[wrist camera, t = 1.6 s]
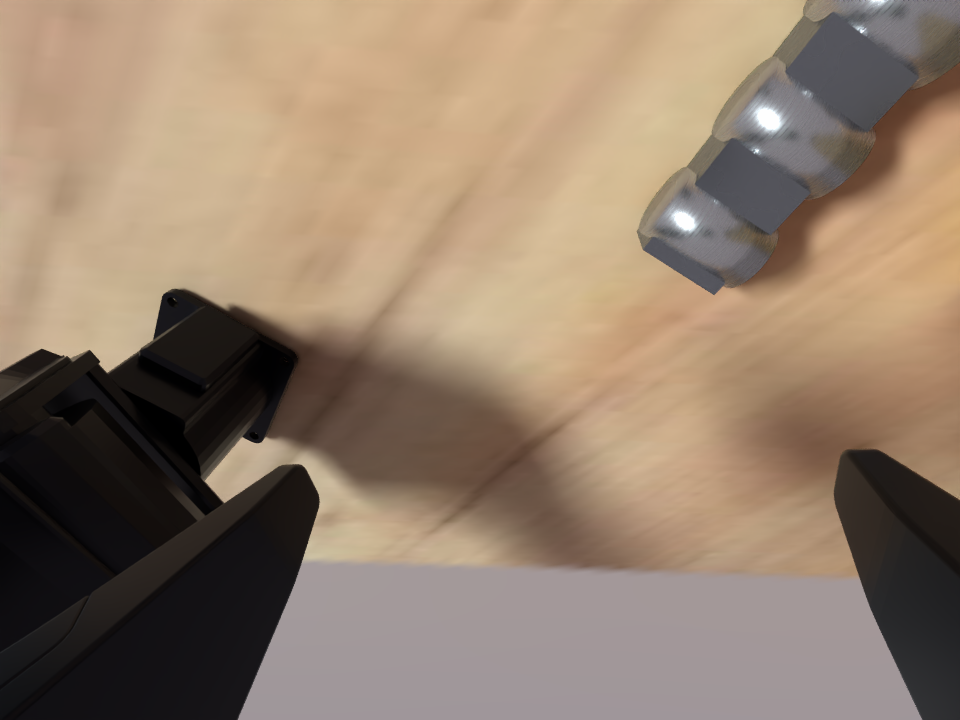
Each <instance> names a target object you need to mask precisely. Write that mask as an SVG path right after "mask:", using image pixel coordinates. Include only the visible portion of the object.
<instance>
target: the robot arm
mask: <svg viewBox="0 0 960 720" xmlns="http://www.w3.org/2000/svg"><path fill="white" fill-rule="evenodd" d="M173 298H174V299H175V300H176V301H177V302H178V303H177V302H175V300H174V299H173ZM284 358H286V359H287V360H288V361H289V362H286V361H285V360H284ZM98 363H100V361H99V359H98V358H97V357H96V356H95V355H94V354H93V353H92V352H91V351H90V350H88V351H86V352H84V353H81V354H79V355H77V356H75V357H73V358H69V357H68V356H66V357H65V356H64V355H63V356H60V355H57V354H54V353H52V352H49V351H46V350H44V349H40V350H38V351H36V352H34V353H32V354H30V355H28V356H26V357H25V358H23V359H21V360H19V361H18V362H16V363H14V364H12V365H10V366H9V367H7V368H5V369H3V370H2V371H0V720H238V718H239V715H240V713H241V710H242V708H243V706H244V703H245V701H246V699H247V696H248V694H249V691H250V689H251V687H252V684H253V682H254V679H255V677H256V675H257V672H258V670H259V668H260V665H261V663H262V661H263V658H264V656H265V653H266V651H267V649H268V646H269V644H270V642H271V639H272V637H273V634H274V632H275V630H276V627H277V625H278V623H279V620H280V618H281V615H282V613H283V610H284V608H285V606H286V603H287V601H288V598H289V596H290V594H291V591H292V589H293V586H294V584H295V581H296V578H297V575H298V572H299V569H300V566H301V563H302V560H303V557H304V554H305V550H306V547H307V544H308V541H309V538H310V534H311V531H312V528H313V525H314V522H315V518H316V515H317V512H318V509H319V503H320V501H319V494H318V492H317V490H316V488H315V486H314V484H313V482H312V480H311V478H310V476H309V474H308V472H307V470H306V469H305V467H303V466H302V465H299V464H292V465H281V466H279V467H277V468H276V469H275V470H273V471H272V472H270V473H269V474H267V475H266V476H264V477H263V478H261V479H260V480H258V481H257V482H255V483H254V484H252V485H251V486H249V487H248V488H246V489H245V490H243V491H242V492H240V493H239V494H237V495H236V496H234V497H233V498H231V499H230V500H229V501H227V502H226V503H224V502H223V501H222V500H221V499H220V498H219V497H218V496H217V494H216V493H215V492H214V491H213V490H212V489H211V488H210V487H209V486H208V484H207V483H206V482H205V480H206V479H207V477H208V476H209V475H210V474H211V473H212V471H213V470H214V469H215V468H216V467H217V466H218V464H219V463H220V462H221V461H222V460H223V459H224V457H225V456H226V455H227V454H228V453H229V452H230V450H231V449H232V448H233V447H234V446H235V445H236V443H237V442H238V441H239V440H240V439H241V438H242V437H243V438H245V439H247V440H249V441H251V442H254V443H261V442H262V441H263V440H264V438H265V437H266V436H267V434H268V431H269V429H270V427H271V424H272V422H273V420H274V417H275V415H276V413H277V410H278V408H279V406H280V403H281V401H282V399H283V396H284V394H285V392H286V389H287V387H288V385H289V382H290V380H291V378H292V375H293V373H294V370H295V368H296V366H297V363H298V358H297V355H296V354H295V353H294V352H293V351H291V350H290V349H288V348H286V347H284V346H282V345H280V344H279V343H277V342H275V341H273V340H271V339H269V338H267V337H266V336H264V335H262V334H260V333H258V332H256V331H255V330H253V329H251V328H249V327H247V326H245V325H243V324H242V323H240V322H238V321H236V320H234V319H232V318H230V317H229V316H227V315H225V314H223V313H221V312H219V311H218V310H216V309H214V308H212V307H210V306H208V305H206V304H205V303H203V302H201V301H199V300H197V299H195V298H193V297H192V296H190V295H188V294H186V293H184V292H182V291H181V290H178V289H171V290H170V291H168V292H166V293H165V294H163V296H162V300H161V305H160V310H159V315H158V319H157V324H156V329H155V334H154V339H153V341H151V342H150V343H148V344H147V345H145V346H144V347H143V348H141V350H140V351H138V352H137V353H135V354H134V355H132V356H131V357H130V358H128V359H127V360H125V361H124V362H122V363H121V364H120V365H118V366H117V367H115V368H114V369H112V370H111V371H110V372H108V373H107V372H106V371H105V370H104V369H103V368H102V367H101V366H100V365H99V364H98ZM834 500H835V505H836V509H837V512H838V515H839V518H840V521H841V523H842V526H843V529H844V532H845V535H846V538H847V541H848V544H849V547H850V550H851V553H852V556H853V559H854V562H855V565H856V568H857V571H858V574H859V577H860V580H861V583H862V586H863V589H864V592H865V595H866V598H867V600H868V603H869V606H870V608H871V611H872V613H873V615H874V617H875V619H876V622H877V624H878V626H879V629H880V631H881V633H882V635H883V637H884V639H885V641H886V643H887V646H888V648H889V650H890V652H891V654H892V656H893V658H894V660H895V663H896V665H897V667H898V669H899V671H900V673H901V675H902V678H903V680H904V682H905V684H906V686H907V688H908V690H909V692H910V695H911V697H912V699H913V701H914V703H915V705H916V707H917V710H918V712H919V714H920V716H921V718H922V720H960V500H959V499H957V498H956V497H954V496H952V495H951V494H949V493H948V492H946V491H944V490H943V489H941V488H940V487H938V486H936V485H935V484H933V483H932V482H930V481H928V480H927V479H925V478H923V477H922V476H920V475H919V474H917V473H915V472H914V471H912V470H911V469H909V468H907V467H906V466H904V465H903V464H901V463H899V462H898V461H896V460H895V459H893V458H891V457H890V456H888V455H887V454H885V453H883V452H881V451H879V450H877V449H848V450H845V451H844V452H843V453H842V454H841V456H840V460H839V466H838V471H837V477H836V482H835V487H834Z"/></svg>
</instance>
